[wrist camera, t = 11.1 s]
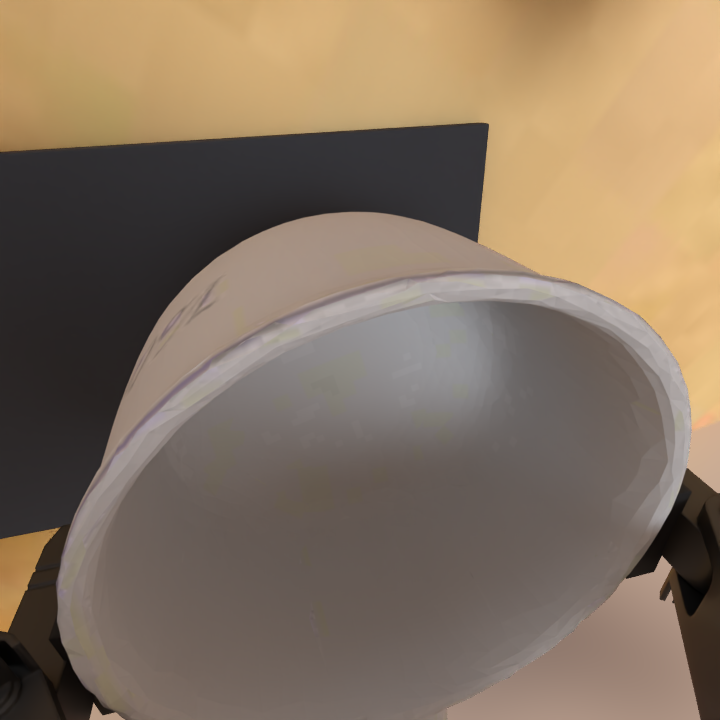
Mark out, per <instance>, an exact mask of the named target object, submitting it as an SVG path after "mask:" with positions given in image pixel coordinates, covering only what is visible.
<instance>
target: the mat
mask: <svg viewBox="0 0 720 720" xmlns="http://www.w3.org/2000/svg"><path fill="white" fill-rule="evenodd" d="M488 129H489V124H487V123H468V124H452V125H436V126H419V127H403V128H386V129H370V130H354V131H337V132H321V133H305V134H288V135H272V136H255V137H239V138H223V139H206V140H190V141H174V142H157V143H141V144H124V145H108V146H92V147H75V148H59V149H43V150H26V151H10V152H0V539H2V538H8V537H13V536H18V535H23V534H28V533H33V532H39V531H44V530H49V529H54V528H59V527H62V526H63V525H68V524H72V521H73V519H74V516H75V513H76V511H77V509H78V507H79V505H80V503H81V501H82V499H83V497H84V495H85V493H86V491H87V489H88V488H89V486H90V484H91V482H92V480H93V478H94V476H95V475H96V473H97V471H98V470H99V468H100V467H101V464H102V460H103V457H104V454H105V450H106V447H107V444H108V440H109V437H110V434H111V430H112V427H113V424H114V421H115V418H116V414H117V411H118V408H119V406H120V403H121V400H122V397H123V395H124V392H125V389H126V387H127V384H128V382H129V379H130V377H131V374H132V372H133V370H134V367H135V365H136V362H137V360H138V358H139V356H140V353H141V351H142V349H143V347H144V345H145V343H146V341H147V339H148V337H149V335H150V334H151V332H152V330H153V329H154V327H155V325H156V323H157V322H158V320H159V318H160V317H161V315H162V314H163V313H164V311H165V310H166V308H167V307H168V306H169V304H170V303H171V302H172V301H173V300H174V298H175V297H176V296H177V295H178V294H179V293H180V292H181V290H182V289H183V288H184V287H185V286H186V285H187V284H188V283H189V282H190V281H191V280H192V279H193V278H194V277H195V276H196V275H197V274H198V273H199V272H201V271H202V270H203V269H204V268H205V267H206V266H208V265H209V264H210V263H211V262H212V261H213V260H215V259H216V258H217V257H219V256H220V255H222V254H224V253H225V252H227V251H228V250H230V249H231V248H233V247H235V246H236V245H238V244H239V243H241V242H242V241H244V240H246V239H248V238H250V237H252V236H254V235H256V234H259V233H261V232H263V231H265V230H268V229H270V228H273V227H276V226H278V225H281V224H283V223H287V222H290V221H294V220H297V219H301V218H305V217H310V216H316V215H322V214H329V213H342V212H375V213H384V214H391V215H396V216H402V217H406V218H410V219H415V220H419V221H423V222H426V223H429V224H432V225H435V226H438V227H440V228H443V229H446V230H448V231H451V232H453V233H456V234H458V235H461V236H463V237H465V238H468V239H470V240H472V241H474V242H476V243H477V242H478V232H479V222H480V212H481V201H482V191H483V181H484V170H485V160H486V150H487V140H488Z"/></svg>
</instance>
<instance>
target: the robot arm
mask: <svg viewBox="0 0 720 720" xmlns="http://www.w3.org/2000/svg"><path fill="white" fill-rule="evenodd" d="M70 527H71V524H68V525H63V526H62V527H61V528H60V529H59V530H58V531H57V532H56V534H55V535H54V536H53V537H52V538H51V539H50V541H49V542H48V543H47V544H46V545H45V546H44V549H43V551H42V553H41V556H40V558H39V560H38V563H37V565H36V567H35V569H36V571H35V572H33V574H32V577H31V579H30V581H29V584H28V590H27V591H25V593H24V595H23V598H22V600H21V602H20V605H19V607H18V609H17V612H16V614H15V616H14V619H13V621H12V623H11V626H10V628H9V630H8V633H7V632H2V631H0V720H89V718H90V714H91V710H92V706H93V702H94V704H95V705H96V707H97V708H98V709H99V711H100V712H101V714H102V715H106V714H110V713H114V711H111V710H109V709H107V708H104V707H103V706H102V704H101V703H100V701H99V700H98V698H97V697H96V695H95V694H93V693H92V692H90V691H89V690H87V689H85V687H84V686H83V684H82V683H81V681H80V680H79V678H78V676H77V675H76V673H75V672H74V670H73V667H72V665H71V662H70V659H69V656H68V654H67V652H66V650H65V648H64V646H63V644H62V642H61V635H60V631H59V627H58V623H57V614H58V601H57V590H56V581H57V578H58V575H59V571H60V566H61V556H62V553H63V550H64V546H65V543H66V539H67V536H68V532H69V530H70ZM661 556H663V557H664V558H665V559H666V560H667V561H668V562H669V564H671V566H672V569H671V571H670V573H669V575H668V577H667V579H666V581H665V582H664V584H663V586H662V588H661V591H660V600H664V601H665V600H666V598H667V596H668V594H669V592H670V590H672V594H673V601H672V602H673V603H675V607H676V612H677V616H678V621H679V625H680V629H681V634H682V639H683V643H684V647H685V652H686V656H687V661H688V665H689V670H690V674H691V679H692V683H693V687H694V692H695V696H696V701H697V705H698V710H699V714H700V718H701V720H720V493H716V492H715V491H714V490H713V489H712V488H710V487H709V486H708V485H707V484H706V483H704V482H703V481H702V480H701V479H700V478H698V477H697V476H696V475H695V474H693V472H691V471H690V470H689V469H688V468H686V471H685V474H684V478H683V481H682V484H681V487H680V490H679V493H678V495H677V497H676V500H675V502H674V505H673V507H672V509H671V511H670V513H669V515H668V517H667V518H666V520H665V522H664V524H663V525H662V527H661V529H660V531H659V532H658V534H657V535H656V537H655V539H654V540H653V542H652V543H651V545H650V546H649V548H648V549H647V551H646V552H645V554H644V555H643V557H642V558H641V559H640V561H639V562H638V563H637V565H636V566H635V567H634V568H633V570H632V571H631V572H630V574H629V575H628V576H627V577H626V579H627V578H631V577H636V576H639V575H643V574H647V573H651V572H654V570H655V569H656V567H657V564H658V562H659V560H660V558H661Z"/></svg>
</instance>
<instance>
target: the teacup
mask: <svg viewBox="0 0 720 720" xmlns="http://www.w3.org/2000/svg"><path fill="white" fill-rule="evenodd" d="M691 431H692V429H691V408H690V402H689V396H688V389H687V386H686V384H685V381H684V379H683V376H682V373H681V370H680V367H679V364H678V362H677V360H676V359H675V358H674V356H673V355H672V353H671V352H670V350H669V349H668V347H667V346H666V344H665V343H664V341H663V340H662V339H661V337H660V336H659V335H658V334H657V333H656V332H655V331H654V330H653V329H652V327H651V326H650V325H649V324H648V323H647V322H646V321H645V320H644V319H643V318H642V317H640V316H639V315H638V314H636V313H634V312H633V311H631V310H629V309H628V308H626V307H624V306H623V305H621V304H619V303H618V302H616V301H614V300H612V299H610V298H608V297H606V296H603V295H601V294H599V293H597V292H595V291H593V290H590V289H588V288H586V287H584V286H581V285H579V284H577V283H573V282H570V281H567V280H563V279H559V278H554V277H549V276H544V275H540V274H538V273H536V272H535V271H533V270H531V269H529V268H527V267H525V266H523V265H521V264H519V263H517V262H515V261H513V260H511V259H509V258H507V257H505V256H503V255H501V254H499V253H497V252H495V251H493V250H491V249H489V248H487V247H485V246H483V245H481V244H479V243H476V242H474V241H472V240H470V239H468V238H465V237H463V236H461V235H458V234H456V233H453V232H451V231H448V230H446V229H443V228H440V227H438V226H435V225H432V224H429V223H426V222H423V221H419V220H415V219H410V218H406V217H402V216H396V215H391V214H384V213H375V212H342V213H329V214H322V215H316V216H310V217H305V218H301V219H297V220H294V221H290V222H287V223H283V224H281V225H278V226H276V227H273V228H270V229H268V230H265V231H263V232H261V233H259V234H256V235H254V236H252V237H250V238H248V239H246V240H244V241H242V242H241V243H239V244H238V245H236V246H235V247H233V248H231V249H230V250H228V251H227V252H225V253H224V254H222V255H220V256H219V257H217V258H216V259H215V260H213V261H212V262H211V263H210V264H209V265H208V266H206V267H205V268H204V269H203V270H202V271H201V272H199V273H198V274H197V275H196V276H195V277H194V278H193V279H192V280H191V281H190V282H189V283H188V284H187V285H186V286H185V287H184V288H183V289H182V290H181V292H180V293H179V294H178V295H177V296H176V297H175V298H174V300H173V301H172V302H171V303H170V304H169V306H168V307H167V308H166V310H165V311H164V313H163V314H162V315H161V317H160V318H159V320H158V322H157V323H156V325H155V327H154V329H153V330H152V332H151V334H150V335H149V337H148V339H147V341H146V343H145V345H144V347H143V349H142V351H141V353H140V356H139V358H138V360H137V362H136V365H135V367H134V370H133V372H132V374H131V377H130V379H129V382H128V384H127V387H126V389H125V392H124V395H123V397H122V400H121V403H120V406H119V408H118V411H117V414H116V418H115V421H114V424H113V427H112V430H111V434H110V437H109V440H108V444H107V447H106V450H105V454H104V457H103V460H102V464H101V467H100V468H99V470H98V471H97V473H96V475H95V476H94V478H93V480H92V482H91V484H90V486H89V488H88V489H87V491H86V493H85V495H84V497H83V499H82V501H81V503H80V505H79V507H78V509H77V511H76V513H75V516H74V519H73V521H72V524H71V527H70V530H69V532H68V536H67V539H66V543H65V546H64V550H63V553H62V556H61V566H60V571H59V575H58V578H57V581H56V590H57V601H58V614H57V623H58V627H59V631H60V635H61V642H62V644H63V646H64V648H65V650H66V652H67V654H68V656H69V659H70V662H71V665H72V667H73V670H74V672H75V673H76V675H77V676H78V678H79V680H80V681H81V683H82V684H83V686H84V687H85V689H87V690H89V691H90V692H92V693H93V694H95V695H96V697H97V698H98V700H99V701H100V703H101V704H102V706H103V707H104V708H107V709H109V710H111V711H114V712H116V713H118V714H119V715H120V716H121V717H122V718H124V719H125V720H447V708H449V707H451V706H453V705H455V704H458V703H460V702H462V701H465V700H467V699H469V698H471V697H473V696H475V695H477V694H478V693H480V692H482V691H484V690H485V689H487V688H489V687H491V686H493V685H494V684H496V683H498V682H499V681H502V680H504V679H507V678H509V677H511V676H512V675H513V674H514V673H515V672H516V671H518V670H519V669H521V668H522V667H524V666H526V665H527V664H529V663H531V662H532V661H534V660H535V659H537V658H539V657H540V656H542V655H543V654H545V653H546V652H548V651H549V650H551V649H552V648H554V647H555V646H556V645H557V644H558V642H559V641H560V640H562V639H563V638H565V637H566V636H568V635H569V634H570V633H572V632H573V631H574V630H575V629H576V627H577V626H578V625H579V623H580V622H581V621H583V620H585V619H586V618H587V617H588V616H589V615H591V614H592V613H593V612H594V611H595V610H596V609H597V608H599V607H600V606H601V605H602V604H603V603H604V602H605V601H606V600H607V599H608V598H609V597H610V596H611V595H612V594H613V593H614V591H615V590H616V589H617V587H618V586H619V584H620V583H621V582H622V581H623V580H624V579H625V578H626V577H627V576H628V575H629V574H630V572H631V571H632V570H633V568H634V567H635V566H636V565H637V563H638V562H639V561H640V559H641V558H642V557H643V555H644V554H645V552H646V551H647V549H648V548H649V546H650V545H651V543H652V542H653V540H654V539H655V537H656V535H657V534H658V532H659V531H660V529H661V527H662V525H663V524H664V522H665V520H666V518H667V517H668V515H669V513H670V511H671V509H672V507H673V505H674V502H675V500H676V497H677V495H678V493H679V490H680V487H681V484H682V481H683V478H684V474H685V471H686V468H687V463H688V456H689V449H690V440H691Z"/></svg>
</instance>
